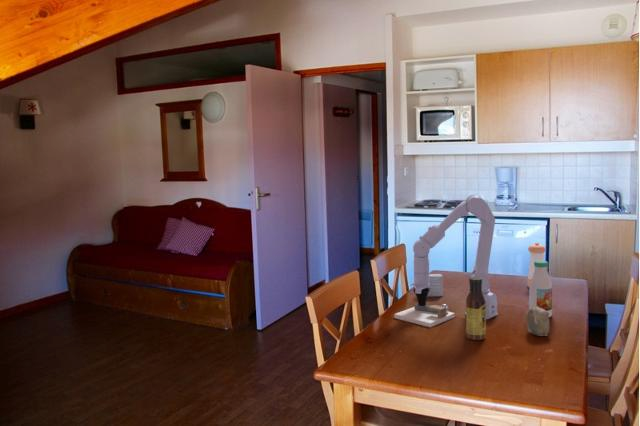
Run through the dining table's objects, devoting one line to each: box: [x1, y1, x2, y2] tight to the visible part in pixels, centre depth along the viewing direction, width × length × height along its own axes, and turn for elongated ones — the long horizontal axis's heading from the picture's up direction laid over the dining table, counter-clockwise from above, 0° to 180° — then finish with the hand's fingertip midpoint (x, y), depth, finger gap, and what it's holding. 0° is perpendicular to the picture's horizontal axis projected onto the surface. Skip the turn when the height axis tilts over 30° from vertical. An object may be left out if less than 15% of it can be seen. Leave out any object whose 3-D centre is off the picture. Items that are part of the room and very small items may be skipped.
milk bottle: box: [528, 260, 553, 318], centre depth 203 cm, size 8×8×20 cm
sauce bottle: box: [465, 277, 487, 341], centre depth 183 cm, size 7×6×20 cm
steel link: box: [413, 303, 449, 314], centre depth 208 cm, size 13×3×3 cm, turn 61°
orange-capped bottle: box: [527, 242, 547, 288], centre depth 241 cm, size 7×7×19 cm
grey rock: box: [525, 306, 550, 337], centre depth 185 cm, size 9×8×10 cm
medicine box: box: [427, 273, 444, 298], centre depth 234 cm, size 8×4×9 cm, turn 84°
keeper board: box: [394, 304, 456, 328], centre depth 206 cm, size 16×15×5 cm
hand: (422, 307), depth 211 cm, fingers closed, pressing on steel link
